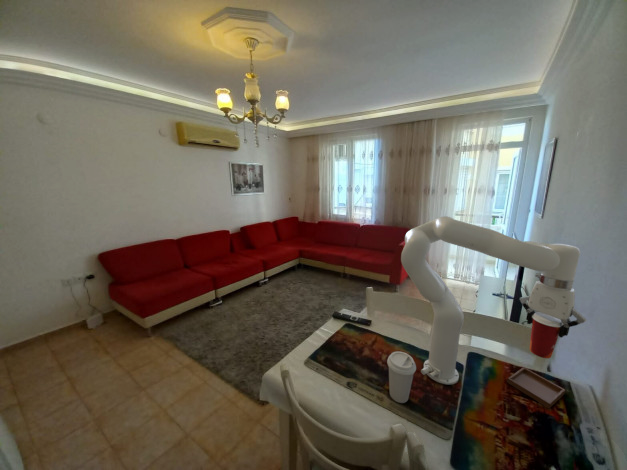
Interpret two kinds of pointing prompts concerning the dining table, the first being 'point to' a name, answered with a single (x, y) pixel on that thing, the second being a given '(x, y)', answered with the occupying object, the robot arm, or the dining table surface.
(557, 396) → the tray
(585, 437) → the dining table surface
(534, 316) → the paper cup
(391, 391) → the coffee cup
